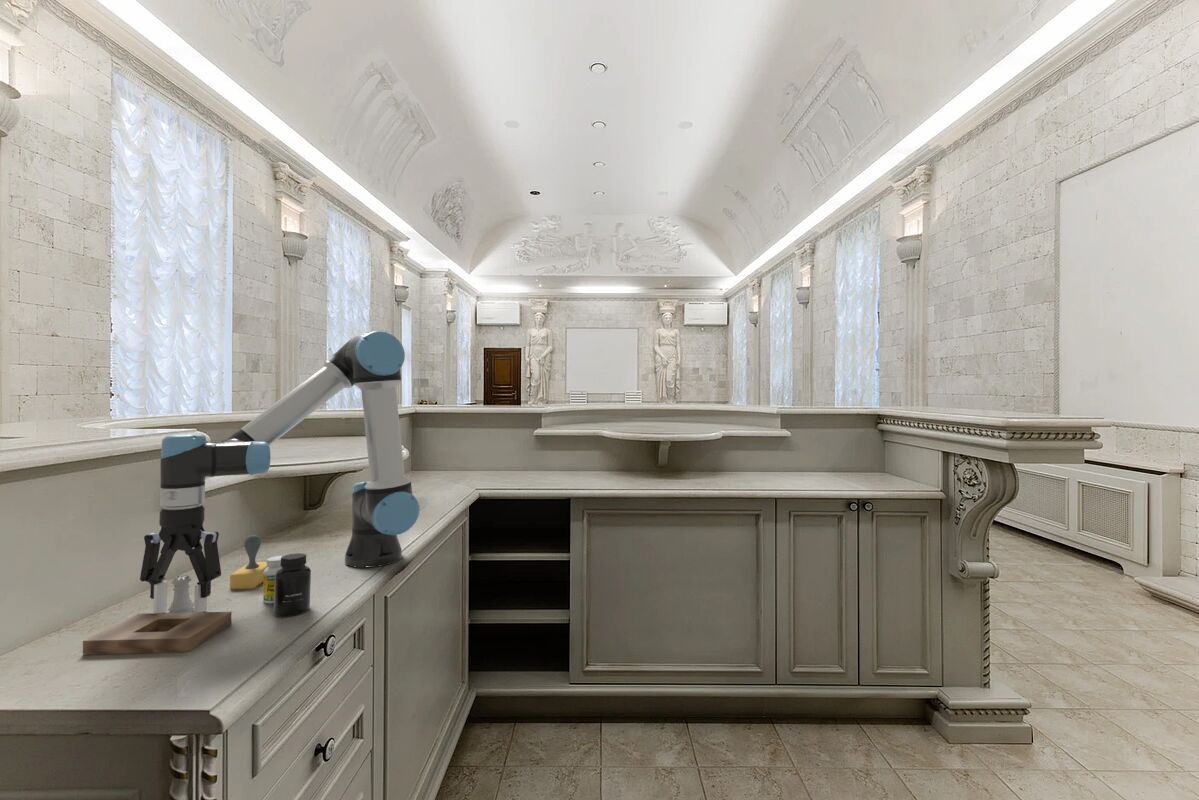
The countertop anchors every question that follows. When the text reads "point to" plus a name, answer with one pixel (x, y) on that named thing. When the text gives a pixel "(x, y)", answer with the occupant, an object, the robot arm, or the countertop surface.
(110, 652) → the walnut socket board
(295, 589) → the supplement bottle
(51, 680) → the countertop surface
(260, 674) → the countertop surface
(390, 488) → the robot arm
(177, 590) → the rook chess piece
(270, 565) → the supplement bottle
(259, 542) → the rubber stamp
